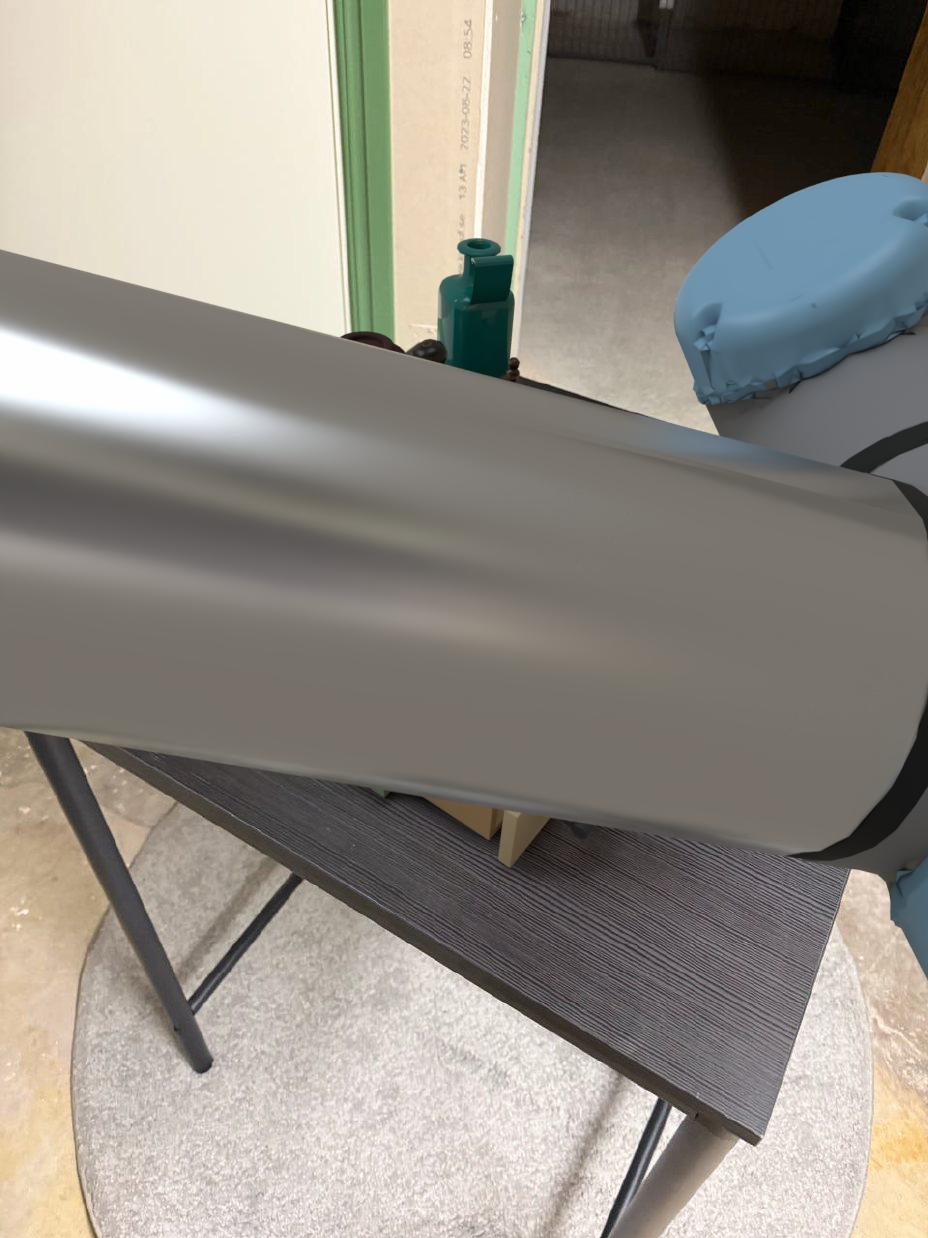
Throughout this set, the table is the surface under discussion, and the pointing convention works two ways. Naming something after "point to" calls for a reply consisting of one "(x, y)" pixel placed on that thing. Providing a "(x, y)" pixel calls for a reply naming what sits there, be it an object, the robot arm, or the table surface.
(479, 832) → the drawer
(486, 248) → the teal bottle
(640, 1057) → the table surface
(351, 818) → the table surface
